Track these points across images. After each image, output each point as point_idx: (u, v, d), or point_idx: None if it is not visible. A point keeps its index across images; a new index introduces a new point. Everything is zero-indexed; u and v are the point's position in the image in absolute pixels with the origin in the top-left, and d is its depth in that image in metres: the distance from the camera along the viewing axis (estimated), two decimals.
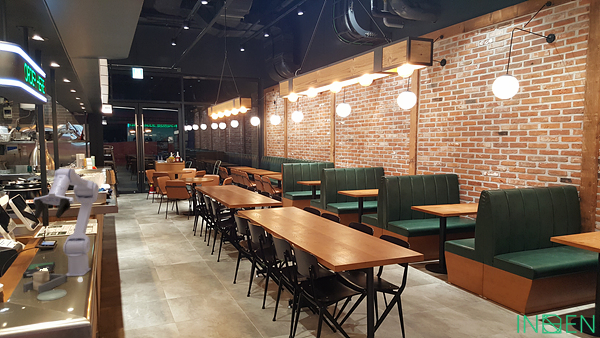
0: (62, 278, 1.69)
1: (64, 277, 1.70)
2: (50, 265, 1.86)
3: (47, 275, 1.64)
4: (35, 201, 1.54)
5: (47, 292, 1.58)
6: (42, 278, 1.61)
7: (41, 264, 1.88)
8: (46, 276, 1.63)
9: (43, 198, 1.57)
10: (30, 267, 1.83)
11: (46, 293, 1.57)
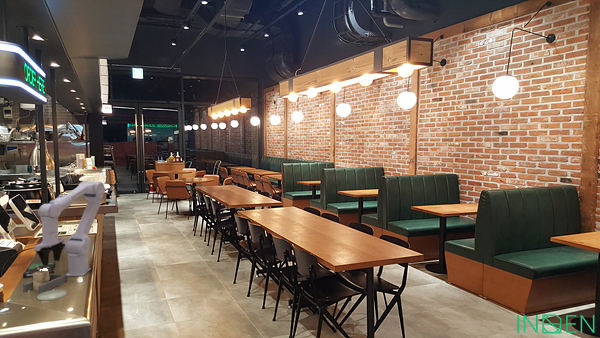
0: (62, 278, 1.69)
1: (64, 277, 1.70)
2: (50, 265, 1.86)
3: (47, 275, 1.64)
4: None
5: (47, 292, 1.58)
6: (42, 278, 1.61)
7: (41, 264, 1.88)
8: (46, 276, 1.63)
9: None
10: (30, 267, 1.83)
11: (46, 293, 1.57)
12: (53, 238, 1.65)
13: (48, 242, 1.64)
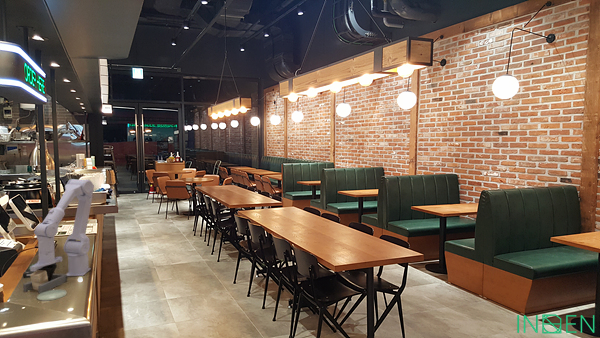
0: (62, 278, 1.69)
1: (64, 277, 1.70)
2: None
3: (45, 275, 1.63)
4: None
5: (47, 292, 1.58)
6: (40, 278, 1.60)
7: None
8: (44, 276, 1.62)
9: None
10: None
11: (46, 293, 1.57)
12: (49, 257, 1.64)
13: (44, 262, 1.63)
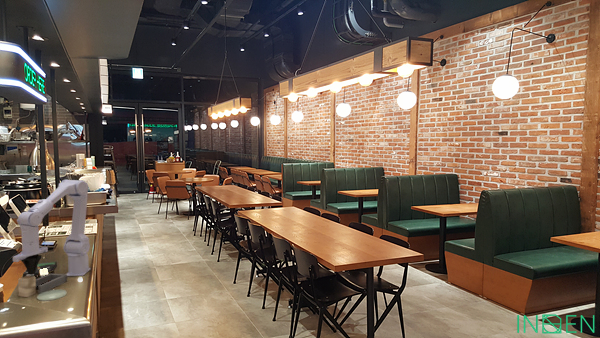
0: (62, 278, 1.69)
1: (64, 277, 1.70)
2: (51, 265, 1.86)
3: (33, 281, 1.57)
4: None
5: (47, 292, 1.58)
6: (28, 283, 1.55)
7: (43, 264, 1.88)
8: (32, 282, 1.57)
9: None
10: None
11: (46, 293, 1.57)
12: (33, 247, 1.56)
13: (27, 252, 1.55)
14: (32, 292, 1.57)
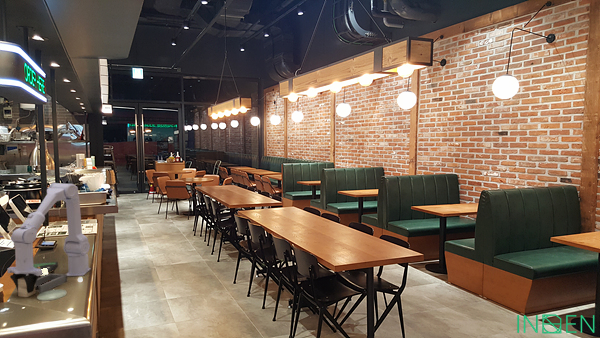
0: (62, 278, 1.69)
1: (64, 277, 1.70)
2: (52, 265, 1.86)
3: None
4: (11, 278, 1.54)
5: (47, 292, 1.58)
6: None
7: (44, 264, 1.88)
8: None
9: None
10: None
11: (46, 293, 1.57)
12: None
13: (32, 267, 1.56)
14: (32, 292, 1.57)
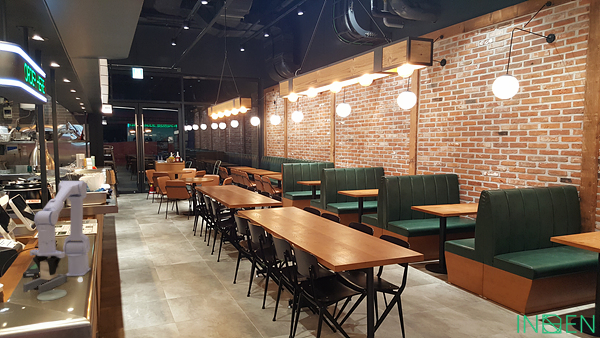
0: (62, 278, 1.69)
1: (64, 277, 1.70)
2: None
3: None
4: (34, 260, 1.53)
5: (47, 292, 1.58)
6: None
7: None
8: None
9: None
10: (33, 266, 1.84)
11: (46, 293, 1.57)
12: None
13: (55, 250, 1.55)
14: (54, 275, 1.56)
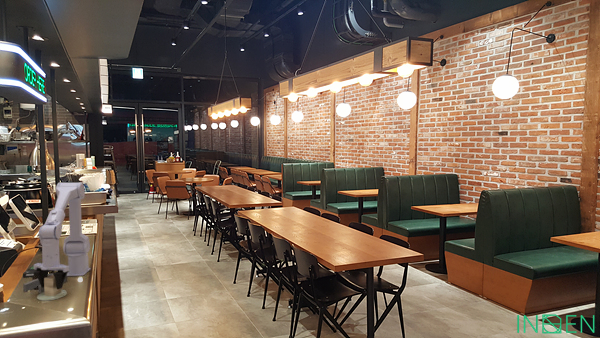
0: None
1: None
2: None
3: None
4: (35, 274, 1.54)
5: None
6: (54, 283, 1.55)
7: None
8: None
9: None
10: (33, 266, 1.84)
11: None
12: None
13: (59, 263, 1.56)
14: (58, 291, 1.57)
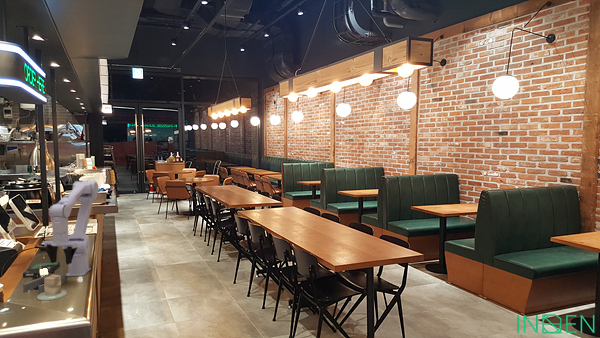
0: (62, 278, 1.69)
1: (64, 277, 1.70)
2: (53, 265, 1.86)
3: (59, 280, 1.57)
4: (45, 250, 1.66)
5: None
6: (54, 283, 1.55)
7: (46, 264, 1.88)
8: (58, 281, 1.56)
9: None
10: (34, 266, 1.84)
11: None
12: None
13: (68, 240, 1.68)
14: (58, 291, 1.57)
